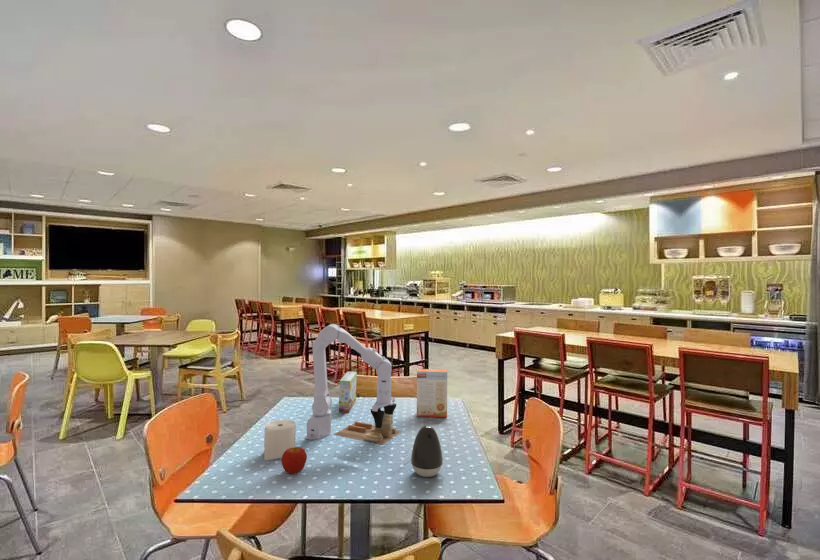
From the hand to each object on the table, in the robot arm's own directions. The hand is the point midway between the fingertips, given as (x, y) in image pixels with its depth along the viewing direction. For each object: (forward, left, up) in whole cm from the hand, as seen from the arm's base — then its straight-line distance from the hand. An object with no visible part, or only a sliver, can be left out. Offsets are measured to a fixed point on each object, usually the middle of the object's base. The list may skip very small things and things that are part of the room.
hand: (383, 424), depth 165 cm
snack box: (+26, +36, -5) cm, 45 cm away
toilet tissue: (-32, +24, -5) cm, 40 cm away
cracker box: (+33, -6, -5) cm, 34 cm away
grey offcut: (-8, 0, -3) cm, 8 cm away
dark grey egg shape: (-22, -28, -5) cm, 36 cm away
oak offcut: (-8, 0, -2) cm, 8 cm away
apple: (-41, +10, -5) cm, 42 cm away
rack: (-3, +6, -4) cm, 8 cm away
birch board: (0, 0, -3) cm, 3 cm away
